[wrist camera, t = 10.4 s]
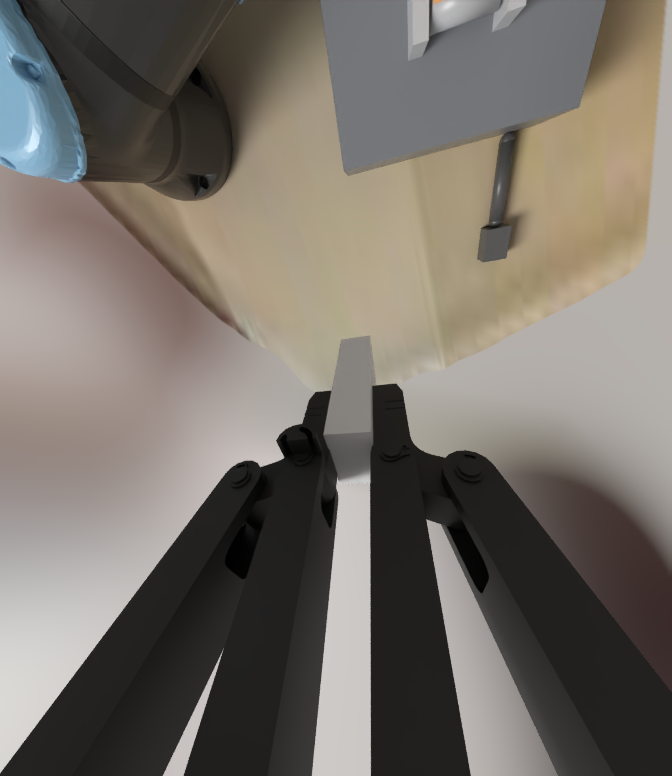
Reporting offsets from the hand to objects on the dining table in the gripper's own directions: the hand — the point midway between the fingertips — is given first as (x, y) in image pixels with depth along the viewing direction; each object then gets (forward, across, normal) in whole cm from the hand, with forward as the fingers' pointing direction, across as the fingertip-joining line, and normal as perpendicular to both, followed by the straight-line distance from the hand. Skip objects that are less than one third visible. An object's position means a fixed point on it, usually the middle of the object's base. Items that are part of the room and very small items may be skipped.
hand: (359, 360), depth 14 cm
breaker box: (+32, +10, +11) cm, 36 cm away
